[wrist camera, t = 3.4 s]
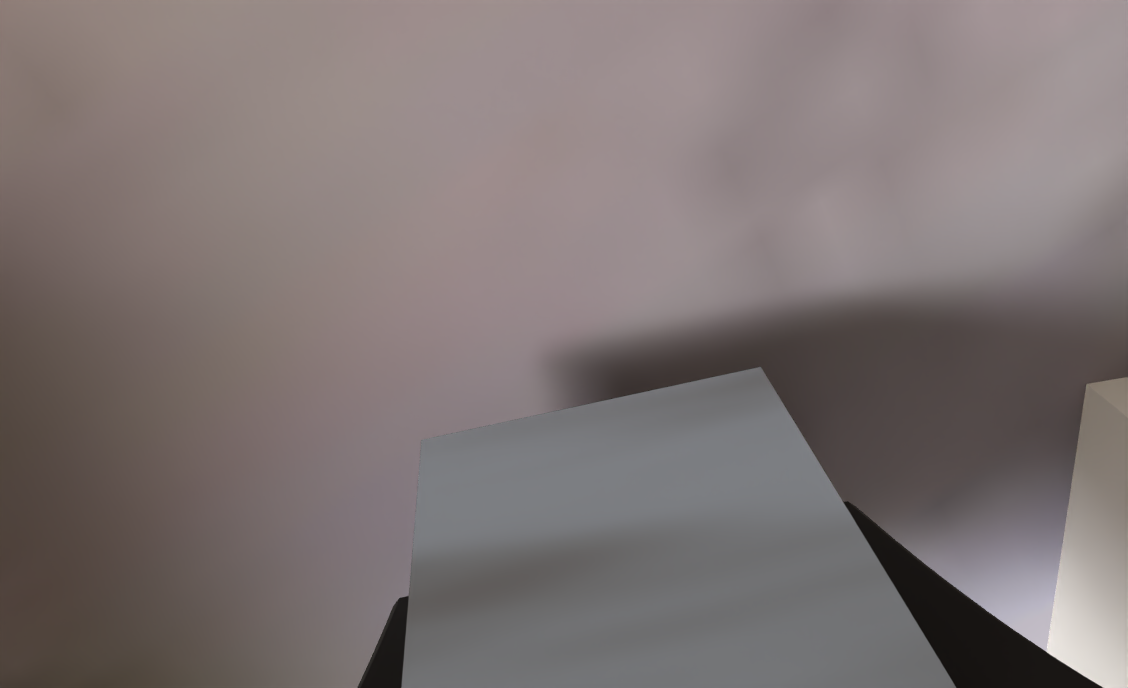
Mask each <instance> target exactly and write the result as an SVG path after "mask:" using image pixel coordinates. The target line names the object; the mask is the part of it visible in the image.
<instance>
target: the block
mask: <svg viewBox="0 0 1128 688" xmlns="http://www.w3.org/2000/svg"><path fill="white" fill-rule="evenodd" d="M401 688H956V686H955V685H954V683H953V681H952V680H951V678H950V677H949V675H948V673H947V672H946V670H945V668H944V667H943V665H942V663H941V662H940V660H939V658H938V657H937V655H936V654H935V652H934V650H933V649H932V647H931V645H930V644H929V642H928V640H927V639H926V637H925V636H924V634H923V632H922V631H921V629H920V627H919V626H918V624H917V622H916V621H915V619H914V617H913V616H912V614H911V613H910V611H909V609H908V608H907V606H906V604H905V603H904V601H903V599H902V598H901V596H900V595H899V593H898V591H897V590H896V588H895V586H894V585H893V583H892V581H891V580H890V578H889V576H888V575H887V573H886V572H885V570H884V568H883V567H882V565H881V563H880V562H879V560H878V558H877V557H876V555H875V554H874V552H873V550H872V549H871V547H870V545H869V544H868V542H867V540H866V539H865V537H864V535H863V534H862V532H861V531H860V529H859V527H858V526H857V524H856V522H855V521H854V519H853V517H852V516H851V514H850V512H849V511H848V509H847V508H846V506H845V504H844V503H843V501H842V499H841V498H840V496H839V494H838V493H837V491H836V490H835V488H834V486H833V485H832V483H831V481H830V480H829V478H828V476H827V475H826V473H825V471H824V470H823V468H822V467H821V465H820V463H819V462H818V460H817V458H816V457H815V455H814V453H813V452H812V450H811V449H810V447H809V445H808V444H807V442H806V440H805V439H804V437H803V435H802V434H801V432H800V430H799V429H798V427H797V426H796V424H795V422H794V421H793V419H792V417H791V416H790V414H789V412H788V411H787V409H786V408H785V406H784V404H783V403H782V401H781V399H780V398H779V396H778V394H777V393H776V391H775V389H774V388H773V386H772V385H771V383H770V381H769V380H768V378H767V376H766V375H765V373H764V371H763V370H762V368H761V367H758V368H753V369H749V370H744V371H739V372H735V373H730V374H725V375H721V376H716V377H711V378H707V379H702V380H698V381H693V382H688V383H684V384H679V385H674V386H670V387H665V388H660V389H656V390H651V391H646V392H642V393H637V394H633V395H628V396H623V397H619V398H614V399H609V400H605V401H600V402H595V403H591V404H586V405H581V406H577V407H572V408H567V409H563V410H558V411H554V412H549V413H544V414H540V415H535V416H530V417H526V418H521V419H516V420H512V421H507V422H502V423H498V424H493V425H489V426H484V427H479V428H475V429H470V430H465V431H461V432H456V433H451V434H447V435H442V436H437V437H433V438H428V439H424V440H421V452H420V465H419V477H418V489H417V502H416V514H415V526H414V539H413V551H412V563H411V576H410V588H409V600H408V613H407V625H406V637H405V650H404V662H403V674H402V687H401Z"/></svg>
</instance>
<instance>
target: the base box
mask: <svg viewBox="0 0 1128 688" xmlns="http://www.w3.org/2000/svg"><path fill="white" fill-rule="evenodd" d="M1047 653H1049V654H1050V655H1052V656H1053V657H1055V658H1056V659H1058V660H1060V661H1061V662H1063V663H1064V664H1066V665H1067V666H1069V667H1070V668H1072V669H1074V670H1075V671H1077V672H1079V673H1080V674H1082V675H1083V676H1085V677H1087V678H1088V679H1090V680H1092V681H1093V682H1095V683H1096V684H1098V685H1100V686H1102V687H1103V688H1128V377H1125V378H1119V379H1113V380H1107V381H1101V382H1095V383H1090V384H1086V390H1085V397H1084V404H1083V411H1082V417H1081V424H1080V431H1079V437H1078V444H1077V451H1076V458H1075V464H1074V471H1073V478H1072V484H1071V491H1070V498H1069V504H1068V511H1067V518H1066V525H1065V531H1064V538H1063V545H1062V551H1061V558H1060V565H1059V571H1058V578H1057V585H1056V592H1055V598H1054V605H1053V612H1052V618H1051V625H1050V632H1049V638H1048V645H1047Z"/></svg>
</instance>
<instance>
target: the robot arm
mask: <svg viewBox="0 0 1128 688" xmlns="http://www.w3.org/2000/svg"><path fill="white" fill-rule="evenodd" d="M843 503H844V504H845V506H846V508H847V509H848V511H849V512H850V514H851V516H852V517H853V519H854V521H855V522H856V524H857V526H858V527H859V529H860V531H861V532H862V534H863V535H864V537H865V539H866V540H867V542H868V544H869V545H870V547H871V549H872V550H873V552H874V554H875V555H876V557H877V558H878V560H879V562H880V563H881V565H882V567H883V568H884V570H885V572H886V573H887V575H888V576H889V578H890V580H891V581H892V583H893V585H894V586H895V588H896V590H897V591H898V593H899V595H900V596H901V598H902V599H903V601H904V603H905V604H906V606H907V608H908V609H909V611H910V613H911V614H912V616H913V617H914V619H915V621H916V622H917V624H918V626H919V627H920V629H921V631H922V632H923V634H924V636H925V637H926V639H927V640H928V642H929V644H930V645H931V647H932V649H933V650H934V652H935V654H936V655H937V657H938V658H939V660H940V662H941V663H942V665H943V667H944V668H945V670H946V672H947V673H948V675H949V677H950V678H951V680H952V681H953V683H954V685H955V686H956V688H1103V687H1102V686H1100V685H1098V684H1096V683H1095V682H1093V681H1092V680H1090V679H1088V678H1087V677H1085V676H1083V675H1082V674H1080V673H1079V672H1077V671H1075V670H1074V669H1072V668H1070V667H1069V666H1067V665H1066V664H1064V663H1063V662H1061V661H1060V660H1058V659H1056V658H1055V657H1053V656H1052V655H1050V654H1049V653H1047V652H1046V651H1044V650H1043V649H1041V648H1040V647H1038V646H1037V645H1035V644H1034V643H1032V642H1031V641H1029V640H1028V639H1026V638H1025V637H1023V636H1022V635H1020V634H1019V633H1017V632H1016V631H1014V630H1013V629H1011V628H1010V627H1009V626H1007V625H1006V624H1004V623H1003V622H1002V621H1000V620H999V619H997V618H996V617H995V616H993V615H992V614H990V613H989V612H987V611H986V610H985V609H983V608H982V607H981V606H979V605H978V604H977V603H975V602H974V601H973V600H971V599H970V598H969V597H967V596H966V595H965V594H963V593H962V592H961V591H959V590H958V589H957V588H955V587H954V586H953V585H951V584H950V583H949V582H947V581H946V580H945V579H943V578H942V577H941V576H939V575H938V574H937V573H936V572H934V571H933V570H932V569H930V568H929V567H928V566H927V565H925V564H924V563H923V562H922V561H920V560H919V559H918V558H917V557H916V556H914V555H913V554H912V553H911V552H909V551H908V550H907V549H906V548H904V547H903V546H902V545H901V544H900V543H898V542H897V541H896V540H895V539H893V538H892V537H891V536H890V535H889V534H887V533H886V532H885V531H884V530H883V529H882V528H880V527H879V526H878V525H877V524H876V523H874V522H873V521H872V520H871V519H870V518H869V517H867V516H866V515H865V514H864V513H863V512H862V511H860V510H859V509H858V508H857V507H855V506H854V505H852V504H851V503H849V502H843ZM408 600H409V596H407V597H402V598H399V599H398V601H397V602H396V603H395V605H394V606H393V608H392V611H391V613H390V616H389V618H388V620H387V623H386V625H385V627H384V630H383V632H382V634H381V637H380V639H379V641H378V644H377V646H376V648H375V651H374V653H373V655H372V657H371V659H370V662H369V664H368V666H367V668H366V670H365V672H364V675H363V677H362V679H361V681H360V683H359V685H358V688H401V687H402V674H403V662H404V650H405V637H406V625H407V613H408Z"/></svg>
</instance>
